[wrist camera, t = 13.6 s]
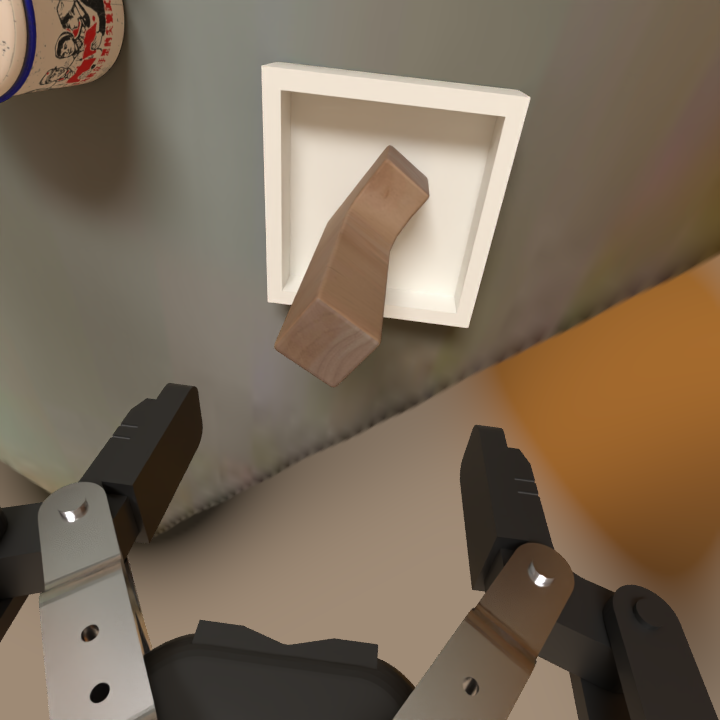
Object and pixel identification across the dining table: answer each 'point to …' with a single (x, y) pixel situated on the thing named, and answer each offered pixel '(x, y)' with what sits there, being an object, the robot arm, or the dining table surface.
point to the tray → (359, 152)
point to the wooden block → (352, 272)
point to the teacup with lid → (57, 43)
